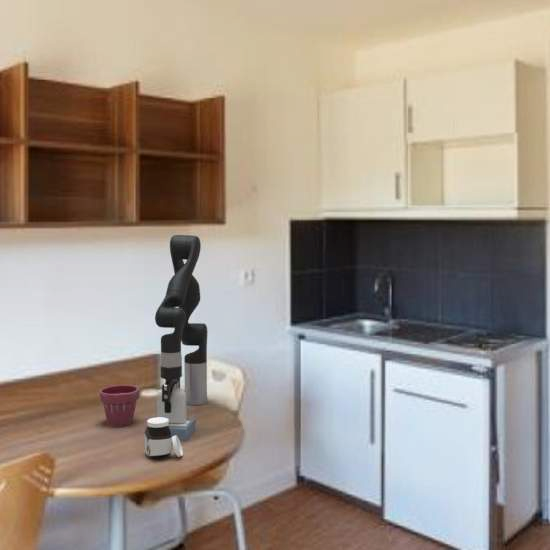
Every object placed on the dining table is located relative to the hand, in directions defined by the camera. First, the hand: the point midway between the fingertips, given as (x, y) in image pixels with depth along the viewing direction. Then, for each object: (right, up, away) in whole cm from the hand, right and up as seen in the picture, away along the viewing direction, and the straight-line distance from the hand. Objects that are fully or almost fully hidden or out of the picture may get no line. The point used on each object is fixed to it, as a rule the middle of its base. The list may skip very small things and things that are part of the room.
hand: (171, 409), depth 234 cm
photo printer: (0, -5, +1) cm, 5 cm away
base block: (0, -9, +1) cm, 9 cm away
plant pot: (-21, -8, +14) cm, 27 cm away
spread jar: (+1, -11, -21) cm, 23 cm away
